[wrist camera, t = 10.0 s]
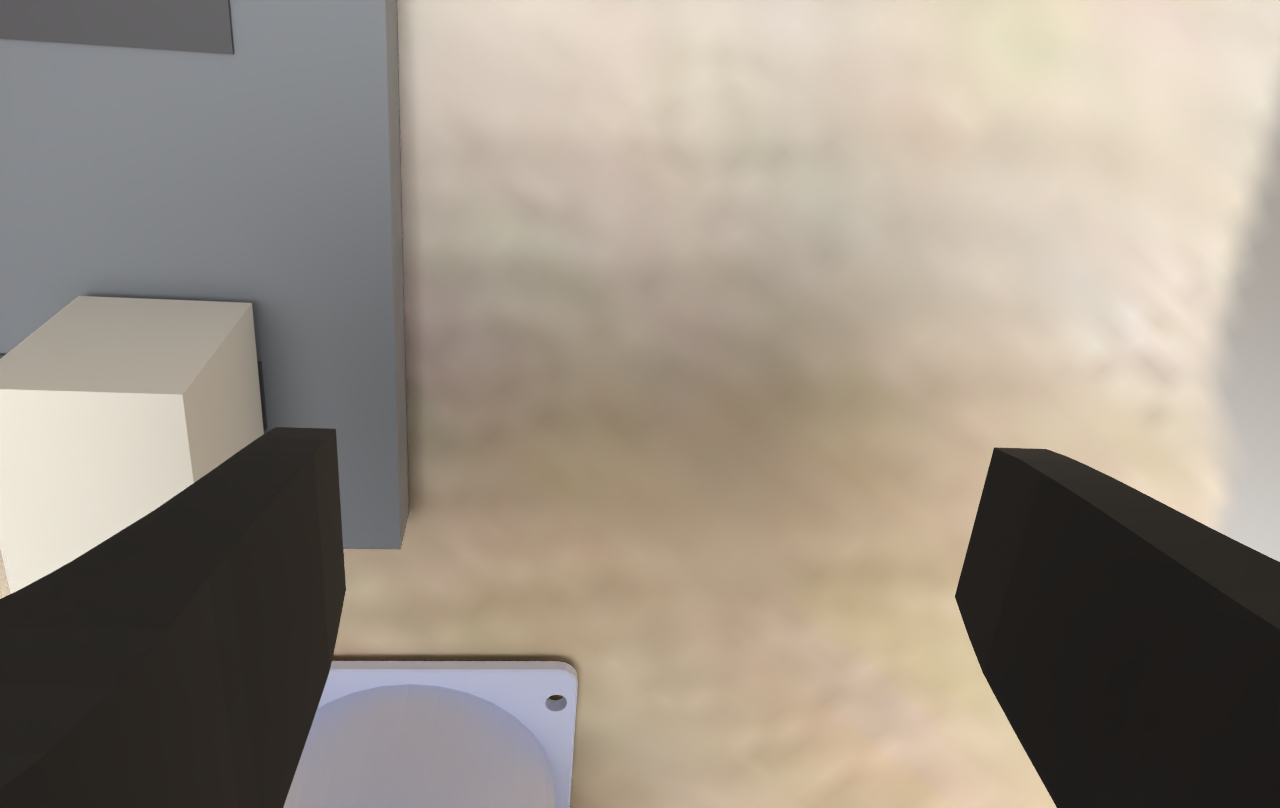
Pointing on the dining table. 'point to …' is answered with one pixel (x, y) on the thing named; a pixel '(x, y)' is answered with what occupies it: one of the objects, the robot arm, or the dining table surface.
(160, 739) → the robot arm
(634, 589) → the dining table surface
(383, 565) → the dining table surface
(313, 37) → the control board
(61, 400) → the ivory slider
